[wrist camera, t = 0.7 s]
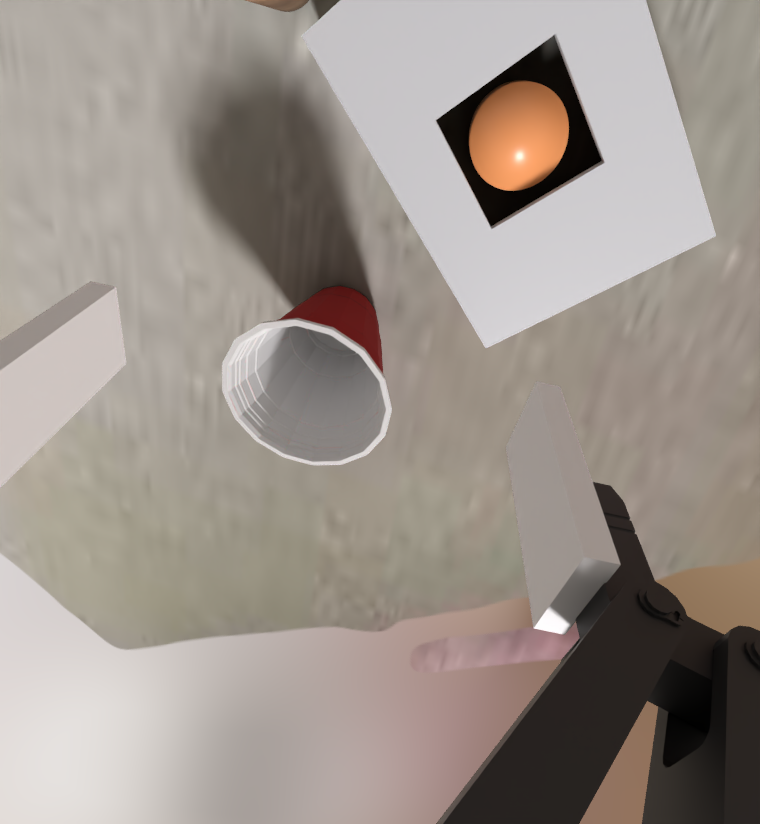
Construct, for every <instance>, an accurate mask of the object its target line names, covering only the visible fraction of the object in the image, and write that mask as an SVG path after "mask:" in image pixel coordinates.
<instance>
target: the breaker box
mask: <svg viewBox="0 0 760 824" xmlns="http://www.w3.org/2000/svg"><path fill="white" fill-rule="evenodd" d="M553 35H554V36H555V39H556V42H557V44H558V47H559V49H560V52H561V55H562V57H563V60H564V62H565V65H566V68H567V70H568V73H569V76H570V78H571V81H572V83H573V86H574V89H575V91H576V94H577V96H578V99H579V102H580V104H581V107H582V110H583V112H584V115H585V117H586V120H587V123H588V125H589V128H590V131H591V133H592V136H593V138H594V141H595V144H596V146H597V149H598V151H599V154H600V157H601V159H602V161H601V162H599V163H597V164H596V165H594V166H592V167H591V168H589V169H587V170H586V171H584V172H582V173H580V174H579V175H577V176H575V177H574V178H572V179H570V180H569V181H567V182H565V183H564V184H562V185H560V186H559V187H557V188H555V189H553V190H552V191H550V192H548V193H547V194H545V195H543V196H542V197H540V198H538V199H537V200H535V201H533V202H532V203H530V204H528V205H526V206H525V207H523V208H521V209H520V210H518V211H516V212H515V213H513V214H511V215H510V216H508V217H506V218H505V219H503V220H501V221H499V222H498V223H496V224H494V225H493V226H490V224H489V222H488V220H487V218H486V216H485V214H484V212H483V210H482V208H481V206H480V204H479V202H478V200H477V198H476V196H475V195H474V193H473V191H472V189H471V187H470V185H469V183H468V181H467V179H466V177H465V175H464V173H463V171H462V169H461V167H460V165H459V163H458V162H457V160H456V158H455V156H454V154H453V152H452V150H451V148H450V146H449V144H448V142H447V140H446V138H445V136H444V134H443V132H442V130H441V129H440V127H439V125H438V123H437V121H436V120H437V119H438V118H440V117H441V116H442V115H444V114H445V113H446V112H448V111H449V110H451V109H452V108H453V107H455V106H456V105H458V104H459V103H460V102H462V101H463V100H465V99H466V98H467V97H469V96H470V95H471V94H473V93H474V92H476V91H477V90H478V89H480V88H481V87H483V86H484V85H485V84H487V83H488V82H490V81H491V80H492V79H494V78H495V77H496V76H498V75H499V74H501V73H502V72H503V71H505V70H506V69H508V68H509V67H510V66H512V65H513V64H515V63H516V62H517V61H519V60H520V59H521V58H523V57H524V56H526V55H527V54H528V53H530V52H531V51H533V50H534V49H535V48H537V47H538V46H540V45H541V44H542V43H544V42H545V41H546V40H548V39H549V38H551V37H552V36H553ZM301 36H302V38H303V40H304V41H305V43H306V45H307V46H308V48H309V50H310V52H311V53H312V55H313V57H314V58H315V60H316V62H317V63H318V65H319V67H320V69H321V70H322V72H323V74H324V75H325V77H326V79H327V80H328V82H329V84H330V85H331V87H332V89H333V91H334V92H335V94H336V96H337V97H338V99H339V101H340V102H341V104H342V106H343V107H344V109H345V111H346V113H347V114H348V116H349V118H350V119H351V121H352V123H353V124H354V126H355V128H356V129H357V131H358V133H359V135H360V136H361V138H362V140H363V141H364V143H365V145H366V146H367V148H368V150H369V151H370V153H371V155H372V157H373V158H374V160H375V162H376V163H377V165H378V167H379V168H380V170H381V172H382V173H383V175H384V177H385V179H386V180H387V182H388V184H389V185H390V187H391V189H392V190H393V192H394V194H395V195H396V197H397V199H398V201H399V202H400V204H401V206H402V207H403V209H404V211H405V212H406V214H407V216H408V217H409V219H410V221H411V223H412V224H413V226H414V228H415V229H416V231H417V233H418V234H419V236H420V238H421V240H422V241H423V243H424V245H425V246H426V248H427V250H428V251H429V253H430V255H431V256H432V258H433V260H434V262H435V263H436V265H437V267H438V268H439V270H440V272H441V273H442V275H443V277H444V278H445V280H446V282H447V284H448V285H449V287H450V289H451V290H452V292H453V294H454V295H455V297H456V299H457V300H458V302H459V304H460V306H461V307H462V309H463V311H464V312H465V314H466V316H467V317H468V319H469V321H470V322H471V324H472V326H473V328H474V329H475V331H476V333H477V334H478V336H479V338H480V339H481V341H482V343H483V344H484V346H485V348H488V347H490V346H492V345H494V344H496V343H498V342H500V341H502V340H504V339H506V338H508V337H510V336H512V335H514V334H516V333H518V332H520V331H522V330H525V329H527V328H529V327H531V326H533V325H535V324H537V323H539V322H541V321H543V320H545V319H547V318H549V317H551V316H553V315H555V314H557V313H559V312H561V311H563V310H565V309H568V308H570V307H572V306H574V305H576V304H578V303H580V302H582V301H584V300H586V299H588V298H590V297H592V296H594V295H596V294H598V293H600V292H602V291H604V290H606V289H609V288H611V287H613V286H615V285H617V284H619V283H621V282H623V281H625V280H627V279H629V278H631V277H633V276H635V275H637V274H639V273H641V272H643V271H645V270H647V269H649V268H652V267H654V266H656V265H658V264H660V263H662V262H664V261H666V260H668V259H670V258H672V257H674V256H676V255H678V254H680V253H682V252H684V251H686V250H688V249H690V248H693V247H695V246H697V245H699V244H701V243H703V242H705V241H707V240H709V239H711V238H713V237H715V236H716V234H715V230H714V227H713V224H712V220H711V217H710V214H709V210H708V207H707V204H706V200H705V197H704V193H703V190H702V187H701V183H700V180H699V177H698V173H697V170H696V167H695V163H694V160H693V157H692V153H691V150H690V146H689V143H688V140H687V136H686V133H685V130H684V126H683V123H682V120H681V116H680V113H679V110H678V106H677V103H676V100H675V96H674V93H673V89H672V86H671V83H670V79H669V76H668V73H667V69H666V66H665V63H664V59H663V56H662V53H661V49H660V46H659V42H658V39H657V36H656V32H655V29H654V26H653V22H652V19H651V16H650V12H649V9H648V6H647V2H646V0H340V1H339V2H338V3H337V4H336V5H334V6H333V7H332V8H331V9H330V10H329V11H328V12H327V13H326V14H325V15H323V16H322V17H321V18H320V19H319V20H318V21H317V22H316V23H315V24H314V25H312V26H311V27H310V28H309V29H308V30H307V31H306V32H305V33H304V34H303V35H301Z"/></svg>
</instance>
